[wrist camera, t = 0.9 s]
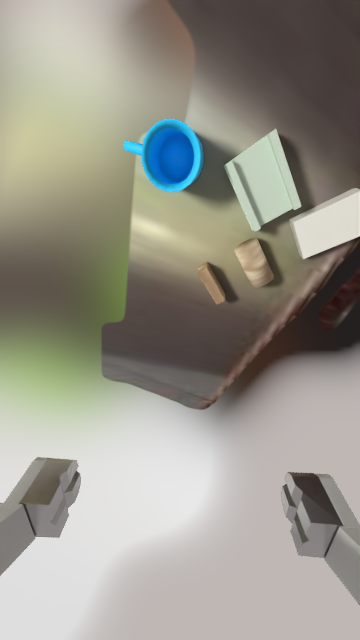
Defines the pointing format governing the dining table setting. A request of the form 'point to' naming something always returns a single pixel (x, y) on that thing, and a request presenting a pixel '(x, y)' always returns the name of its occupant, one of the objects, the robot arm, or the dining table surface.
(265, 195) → the cradle
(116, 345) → the dining table surface
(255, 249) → the roller
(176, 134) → the mug
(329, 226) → the slab
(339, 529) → the robot arm
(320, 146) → the dining table surface
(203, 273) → the wooden brick
